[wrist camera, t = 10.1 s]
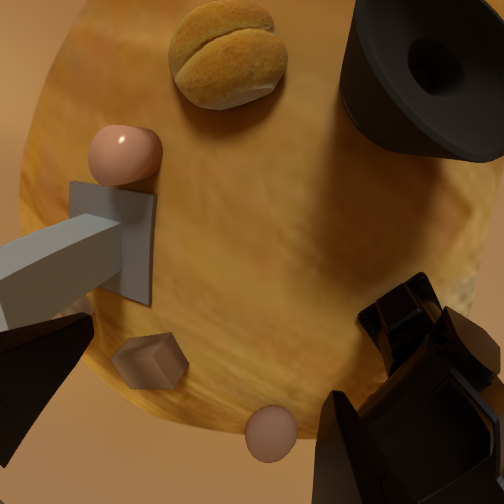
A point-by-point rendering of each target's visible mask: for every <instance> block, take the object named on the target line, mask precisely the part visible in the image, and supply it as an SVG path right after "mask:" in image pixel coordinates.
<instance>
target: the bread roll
mask: <svg viewBox="0 0 504 504" xmlns="http://www.w3.org/2000/svg"><path fill="white" fill-rule="evenodd" d="M168 57H169V67H170V70H171V73H172V76H173V77H174V80H175V82H176V85H177V87H178V89H179V90H180V91H181V92H182V93H183V94H184V96H185V97H186V98H187V99H188V100H189V101H190V102H192V103H193V104H195V105H196V106H198V107H200V108H206V109H215V110H224V109H228V108H232V107H235V106H239V105H243V104H246V103H248V102H250V101H253V100H256V99H258V98H260V97H263V96H265V95H268V94H270V93H271V92H272V91H273V90H275V88H276V85H277V83H278V82H279V80H280V78H281V77H282V75H283V74H284V72H285V70H286V68H287V62H288V55H287V49H286V47H285V45H284V43H283V41H282V40H281V39H280V38H279V37H277V36H276V34H275V28H274V22H273V19H272V17H271V15H270V14H269V13H268V12H267V11H266V10H265V9H263V8H262V7H260V6H258V5H256V4H253V3H250V2H248V1H244V0H219V1H214V2H210V3H207V4H205V5H202V6H200V7H198V8H196V9H194V10H193V11H191V12H190V13H189V14H188V15H187V16H185V18H184V19H183V20H182V21H181V22H180V24H179V25H178V27H177V28H176V30H175V32H174V34H173V37H172V39H171V42H170V47H169V53H168Z"/></svg>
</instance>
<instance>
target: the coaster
mask: <svg viewBox="0 0 504 504" xmlns="http://www.w3.org/2000/svg"><path fill="white" fill-rule="evenodd" d="M156 201H157V195H156V194H151V193H145V192H140V191H134V190H128V189H122V188H116V187H107V186H103V185H97V184H91V183H84V182H78V181H71V182H70V196H69V219H71V218H74V217H77V216H80V215H83V214H90V215H94V216H98V217H102V218H105V219H109V220H113V221H117V222H121V223H122V230H121V271H119V272H118V273H116V274H115V275H113V276H112V277H110V278H109V279H107V280H106V281H104V282H103V283H101V284H100V285H98V287H101V288H103V289H106V290H108V291H111V292H114V293H116V294H119V295H121V296H124V297H127V298H129V299H132V300H135V301H138V302H140V303H143V304H146V305H149V304H151V303H152V260H153V240H154V225H155V212H156Z"/></svg>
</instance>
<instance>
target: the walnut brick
mask: <svg viewBox="0 0 504 504" xmlns="http://www.w3.org/2000/svg"><path fill="white" fill-rule="evenodd" d="M110 360H111V362H112V363H113V365H114V366H115V368H116V369H117V371H118V372H119V374H120V375H121V377H122V378H123V379H124V381H125V382H126V384H127V385H128V386H129V388H130V389H175V387H176V386H177V384H178V382H179V380H180V379H181V377H182V375H183V374H184V372H185V370H186V368H187V367H188V365H189V363H188V361H187V359H186V357H185V356H184V354H183V352H182V351H181V349H180V347H179V345H178V343H177V342H176V340H175V338H174V336H173V334H172V333H171V332H169V333H163V334H157V335H150V336H143V337H136V338H129V339H128V340H127V341H126V342H125V343H124V344H123V345H122V346H121V348H120V349H119V350H118V351H117V352H116V353H115V354H114V355H113V356H112V357H111V358H110Z"/></svg>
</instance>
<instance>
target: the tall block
mask: <svg viewBox="0 0 504 504" xmlns="http://www.w3.org/2000/svg"><path fill="white" fill-rule="evenodd" d="M121 230H122V223H121V222H117V221H113V220H109V219H105V218H102V217H98V216H94V215H90V214H83V215H80V216H77V217H74V218H71V219H68V220H65V221H62V222H60V223H57V224H54V225H51V226H49V227H46V228H43V229H41V230H38V231H35V232H33V233H30V234H28V235H25V236H23V237H20V238H18V239H16V240H13V241H11V242H9V243H6V244H4V245H2V246H0V332H2V331H6V330H10V329H15V328H19V327H23V326H27V325H31V324H35V323H40V322H44V321H48V320H51V319H52V318H53V317H55V316H56V315H57V314H59V313H60V312H61V311H63V310H64V309H66V308H67V307H68V306H70V305H71V304H73V303H74V302H75V301H77V300H78V299H80V298H81V297H82V296H84V295H85V294H87V293H88V292H90V291H91V290H93V289H94V288H95V287H97V286H98V285H100V284H101V283H103V282H104V281H106V280H107V279H109V278H110V277H112V276H113V275H115V274H116V273H118V272H119V271H121Z"/></svg>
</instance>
